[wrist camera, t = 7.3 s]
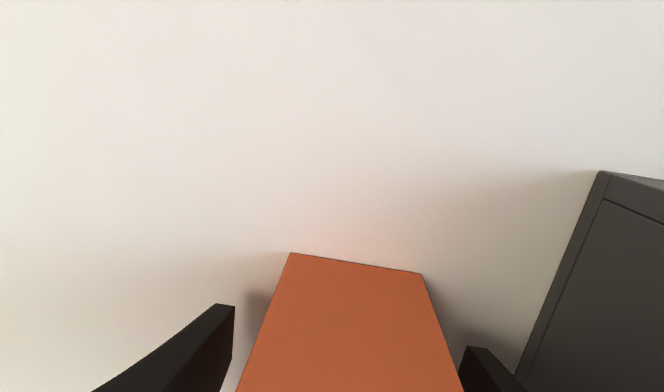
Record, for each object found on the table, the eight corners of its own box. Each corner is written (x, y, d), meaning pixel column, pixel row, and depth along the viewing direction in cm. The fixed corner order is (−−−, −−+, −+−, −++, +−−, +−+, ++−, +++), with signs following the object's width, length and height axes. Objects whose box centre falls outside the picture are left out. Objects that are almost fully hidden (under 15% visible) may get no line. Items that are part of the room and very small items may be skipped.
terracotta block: (394, 376, 12) (423, 584, 7) (277, 356, 12) (222, 548, 7) (421, 273, 11) (482, 438, 6) (289, 251, 11) (232, 395, 6)
